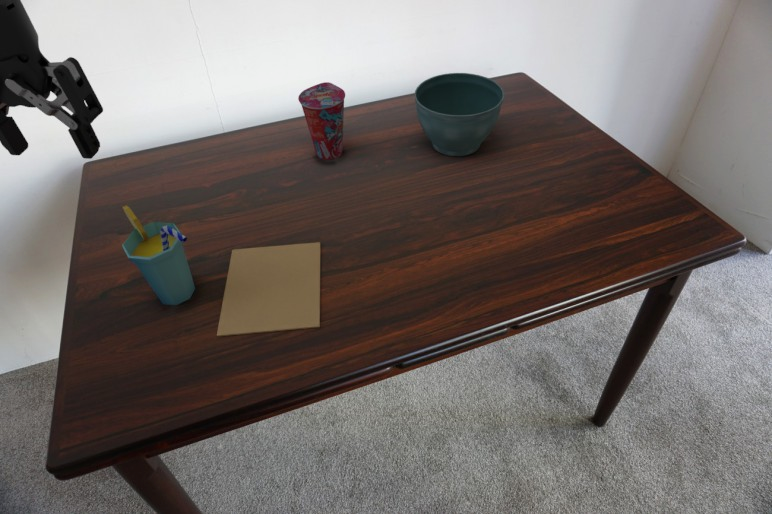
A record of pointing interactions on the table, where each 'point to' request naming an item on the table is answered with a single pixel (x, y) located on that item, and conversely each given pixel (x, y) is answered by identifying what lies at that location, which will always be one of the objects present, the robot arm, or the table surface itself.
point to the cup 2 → (324, 118)
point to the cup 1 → (160, 258)
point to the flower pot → (458, 111)
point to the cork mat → (272, 290)
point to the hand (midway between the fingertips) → (56, 153)
